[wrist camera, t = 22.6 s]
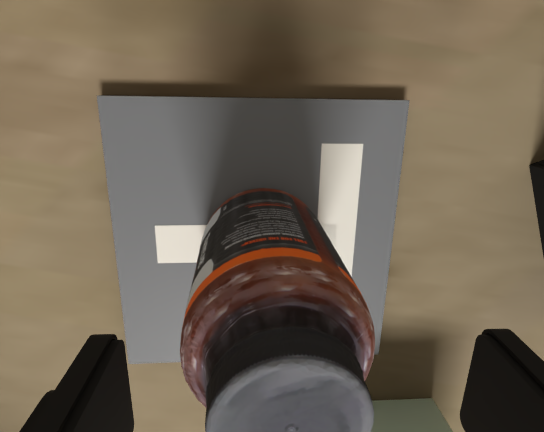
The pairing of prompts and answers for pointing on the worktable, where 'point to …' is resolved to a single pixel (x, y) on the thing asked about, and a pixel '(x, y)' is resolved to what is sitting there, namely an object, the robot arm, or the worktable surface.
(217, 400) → the supplement bottle
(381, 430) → the sage block
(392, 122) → the board
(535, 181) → the digital camera
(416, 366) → the worktable surface
